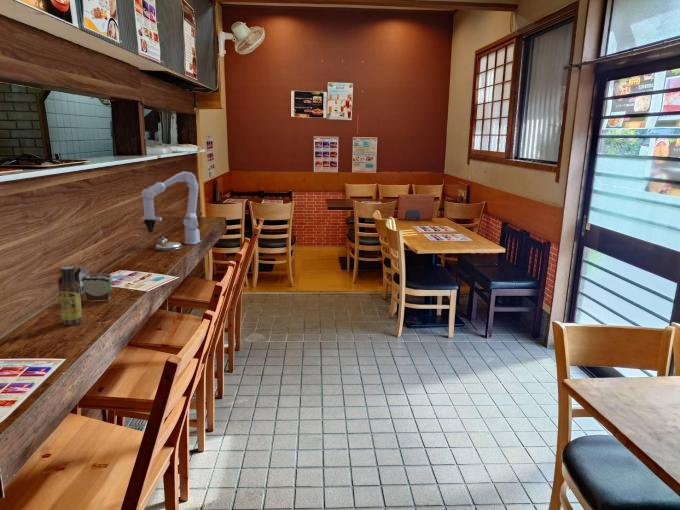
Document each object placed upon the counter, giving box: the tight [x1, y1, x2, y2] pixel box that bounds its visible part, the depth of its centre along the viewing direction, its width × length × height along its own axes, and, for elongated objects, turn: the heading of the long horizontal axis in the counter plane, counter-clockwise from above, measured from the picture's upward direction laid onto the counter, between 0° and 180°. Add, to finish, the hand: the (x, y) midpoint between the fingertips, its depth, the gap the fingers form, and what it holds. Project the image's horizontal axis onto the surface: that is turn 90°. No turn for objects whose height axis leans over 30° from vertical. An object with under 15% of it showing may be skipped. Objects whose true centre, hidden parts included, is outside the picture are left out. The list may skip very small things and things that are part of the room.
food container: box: [80, 272, 114, 301], centre depth 190 cm, size 12×6×10 cm, turn 84°
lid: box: [158, 237, 169, 245], centre depth 282 cm, size 5×5×4 cm
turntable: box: [155, 240, 182, 249], centre depth 282 cm, size 14×14×5 cm
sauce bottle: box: [58, 265, 83, 326], centre depth 163 cm, size 6×6×20 cm
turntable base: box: [154, 244, 183, 252], centre depth 283 cm, size 15×15×1 cm
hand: (150, 232), depth 283 cm, fingers closed
